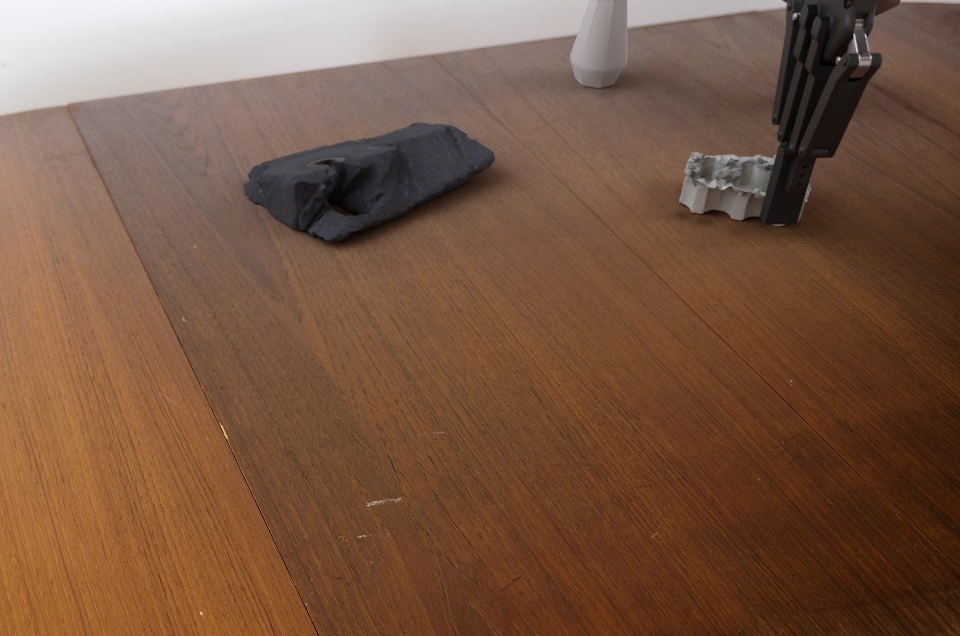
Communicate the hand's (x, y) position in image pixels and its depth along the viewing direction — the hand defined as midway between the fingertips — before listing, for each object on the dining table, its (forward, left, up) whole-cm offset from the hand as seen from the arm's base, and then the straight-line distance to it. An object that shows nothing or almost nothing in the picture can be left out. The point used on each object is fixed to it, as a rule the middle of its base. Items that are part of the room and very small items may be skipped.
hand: (777, 219), depth 105 cm
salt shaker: (+21, -27, -2) cm, 34 cm away
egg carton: (+3, -5, -2) cm, 6 cm away
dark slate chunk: (+35, +4, -2) cm, 35 cm away
